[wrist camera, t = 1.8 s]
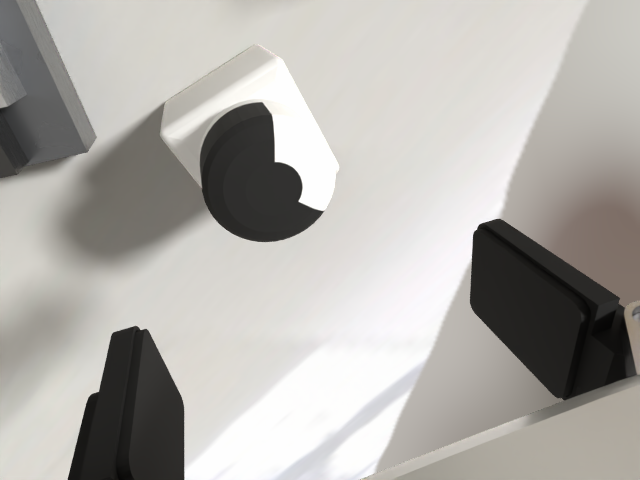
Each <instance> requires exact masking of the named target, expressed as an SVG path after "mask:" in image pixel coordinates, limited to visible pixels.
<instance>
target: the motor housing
mask: <svg viewBox="0 0 640 480" xmlns="http://www.w3.org/2000/svg"><path fill="white" fill-rule="evenodd" d="M96 138H97V137H96V135H95V133H94V131H93V128H92V126H91V124H90V122H89V119H88V117H87V115H86V113H85V110H84V108H83V106H82V104H81V101H80V99H79V97H78V95H77V93H76V90H75V88H74V86H73V84H72V81H71V79H70V77H69V75H68V72H67V70H66V68H65V66H64V63H63V61H62V59H61V57H60V55H59V52H58V50H57V48H56V46H55V43H54V41H53V39H52V37H51V34H50V32H49V30H48V28H47V25H46V23H45V21H44V19H43V17H42V14H41V12H40V10H39V8H38V5H37V3H36V1H35V0H0V178H3V177H8V176H12V175H17V174H18V173H19V172H20V171H21V170H22V169H23V168H24V167H25V166H29V165H33V164H38V163H42V162H46V161H51V160H55V159H60V158H64V157H69V156H73V155H78V154H82V153H86V152H88V151H89V149H90V147H91V146H92V144H93V142H94V141H95V139H96Z"/></svg>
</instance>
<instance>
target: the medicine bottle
mask: <svg viewBox="0 0 640 480" xmlns="http://www.w3.org/2000/svg"><path fill="white" fill-rule="evenodd" d="M160 136H161V138H162V140H163V141H164V142H165V143H166V145H167V146H168V147H169V148H170V150H171V151H172V152H173V153H174V155H175V156H176V157H177V158H178V160H179V161H180V162H181V163H182V165H183V166H184V167H185V168H186V170H187V171H188V172H189V173H190V175H191V176H192V177H193V178H194V180H195V181H196V182H197V183H198V185H199V186H200V187H201V188H202V192H203V196H204V200H205V203H206V205H207V207H208V209H209V211H210V213H211V214H212V216H213V217H214V218H215V220H216V221H217V222H218V223H219V224H220V225H221V226H222V227H224V228H225V229H226V230H228V231H229V232H231V233H232V234H234V235H236V236H239V237H241V238H244V239H247V240H251V241H257V242H272V241H279V240H284V239H287V238H290V237H293V236H295V235H297V234H299V233H301V232H302V231H304V230H306V229H307V228H308V227H310V226H311V225H312V224H313V223H314V222H315V221H316V220H317V219H318V218H319V217H320V216H321V215H322V213H323V212H324V211H325V209H326V207H327V206H328V204H329V202H330V199H331V197H332V194H333V191H334V187H335V179H336V175H335V174H336V173H337V172H338V171H339V164H338V162H337V160H336V159H335V157H334V155H333V153H332V151H331V149H330V147H329V145H328V144H327V142H326V140H325V138H324V136H323V134H322V132H321V131H320V129H319V127H318V125H317V123H316V121H315V119H314V118H313V116H312V114H311V112H310V110H309V108H308V106H307V105H306V103H305V101H304V99H303V97H302V95H301V93H300V91H299V90H298V88H297V86H296V84H295V82H294V80H293V78H292V77H291V75H290V73H289V71H288V69H287V67H286V65H285V64H284V62H283V60H282V59H281V58H280V57H278V56H277V55H275V54H274V53H272V52H270V51H269V50H267V49H265V48H264V47H262V46H261V45H258V44H256V45H253V46H252V47H250V48H249V49H247V50H245V51H244V52H242V53H241V54H239V55H238V56H236V57H235V58H233V59H231V60H230V61H228V62H227V63H225V64H224V65H222V66H221V67H219V68H217V69H216V70H214V71H213V72H211V73H210V74H208V75H207V76H205V77H203V78H202V79H200V80H199V81H197V82H196V83H194V84H193V85H191V86H189V87H188V88H186V89H185V90H183V91H182V92H180V93H179V94H177V95H175V96H174V97H172V98H171V99H169V100H168V101H166V103H165V106H164V112H163V117H162V123H161V129H160Z"/></svg>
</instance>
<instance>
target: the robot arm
mask: <svg viewBox="0 0 640 480" xmlns="http://www.w3.org/2000/svg"><path fill="white" fill-rule="evenodd" d="M619 300H620V298H619V297H618V296H616V295H614V294H613V293H612V292H610V291H609V290H607V289H606V288H604V287H603V286H601V285H600V284H598V283H597V282H595V281H593V280H592V279H590V278H589V277H587V276H586V275H584V274H583V273H581V272H580V271H578V270H577V269H575V268H574V267H572V266H571V265H569V264H568V263H566V262H565V261H563V260H562V259H560V258H559V257H557V256H556V255H554V254H553V253H551V252H550V251H548V250H547V249H545V248H544V247H542V246H541V245H539V244H538V243H536V242H535V241H533V240H532V239H530V238H529V237H527V236H526V235H524V234H523V233H521V232H520V231H518V230H517V229H515V228H514V227H512V226H511V225H509V224H508V223H506V222H505V221H503V220H501V219H495V220H492V221H489V222H485V223H482V224H480V225H479V226H478V228H477V230H476V231H475V232H474V234H473V250H472V271H471V292H470V304H471V307H472V309H473V311H474V313H475V314H476V315H477V316H478V317H479V318H480V319H481V320H482V321H483V322H484V323H485V324H486V325H487V326H488V327H489V328H490V329H491V331H493V333H494V334H495V335H496V336H497V337H498V338H499V339H500V340H501V341H502V342H503V343H504V344H505V345H506V346H507V347H508V348H509V349H510V350H511V351H512V352H513V354H514V355H515V356H516V357H517V358H518V359H519V360H520V361H521V362H522V363H523V364H524V365H525V366H526V367H527V368H528V369H529V370H530V371H531V372H532V373H533V374H534V375H535V376H536V377H537V378H538V380H539V381H540V382H541V383H542V384H543V385H544V386H545V387H546V388H547V389H548V390H549V391H550V392H551V393H552V394H553V395H554V396H555V397H557V398H562V399H563V400H564V401H562V402H560V403H557V404H555V405H552V406H549V407H547V408H544V409H541V410H539V411H536V412H533V413H531V414H528V415H526V416H523V417H520V418H518V419H515V420H512V421H510V422H507V423H505V424H502V425H499V426H497V427H494V428H491V429H489V430H486V431H484V432H481V433H478V434H476V435H473V436H471V437H468V438H465V439H463V440H460V441H458V442H455V443H453V444H450V445H447V446H445V447H443V448H440V449H437V450H434V451H432V452H429V453H427V454H424V455H422V456H419V457H417V458H414V459H411V460H409V461H406V462H404V463H401V464H399V465H396V466H393V467H391V468H388V469H386V470H383V471H380V472H378V473H375V474H373V475H370V476H368V477H365V478H363V479H360V480H640V301H635V302H633V303H631V304H628V306H627V307H626V308H624V307H623V306H621V305H619V304H618V303H619ZM68 480H184V405H183V400H182V397H181V395H180V393H179V391H178V389H177V387H176V385H175V383H174V381H173V379H172V377H171V375H170V373H169V371H168V369H167V367H166V365H165V363H164V361H163V359H162V357H161V355H160V353H159V351H158V349H157V347H156V345H155V343H154V341H153V339H152V337H151V335H150V333H149V331H148V330H147V329H144V330H140V329H139V327H137V326H134V327H130V328H127V329H124V330H120V331H117V332H114V333H113V334H112V336H111V340H110V344H109V349H108V353H107V358H106V362H105V367H104V372H103V376H102V381H101V385H100V390H99V392H97V393H94V394H91V396H90V397H89V398H88V401H87V403H86V407H85V411H84V415H83V419H82V424H81V428H80V432H79V436H78V440H77V444H76V448H75V452H74V456H73V460H72V464H71V468H70V472H69V476H68Z"/></svg>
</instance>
